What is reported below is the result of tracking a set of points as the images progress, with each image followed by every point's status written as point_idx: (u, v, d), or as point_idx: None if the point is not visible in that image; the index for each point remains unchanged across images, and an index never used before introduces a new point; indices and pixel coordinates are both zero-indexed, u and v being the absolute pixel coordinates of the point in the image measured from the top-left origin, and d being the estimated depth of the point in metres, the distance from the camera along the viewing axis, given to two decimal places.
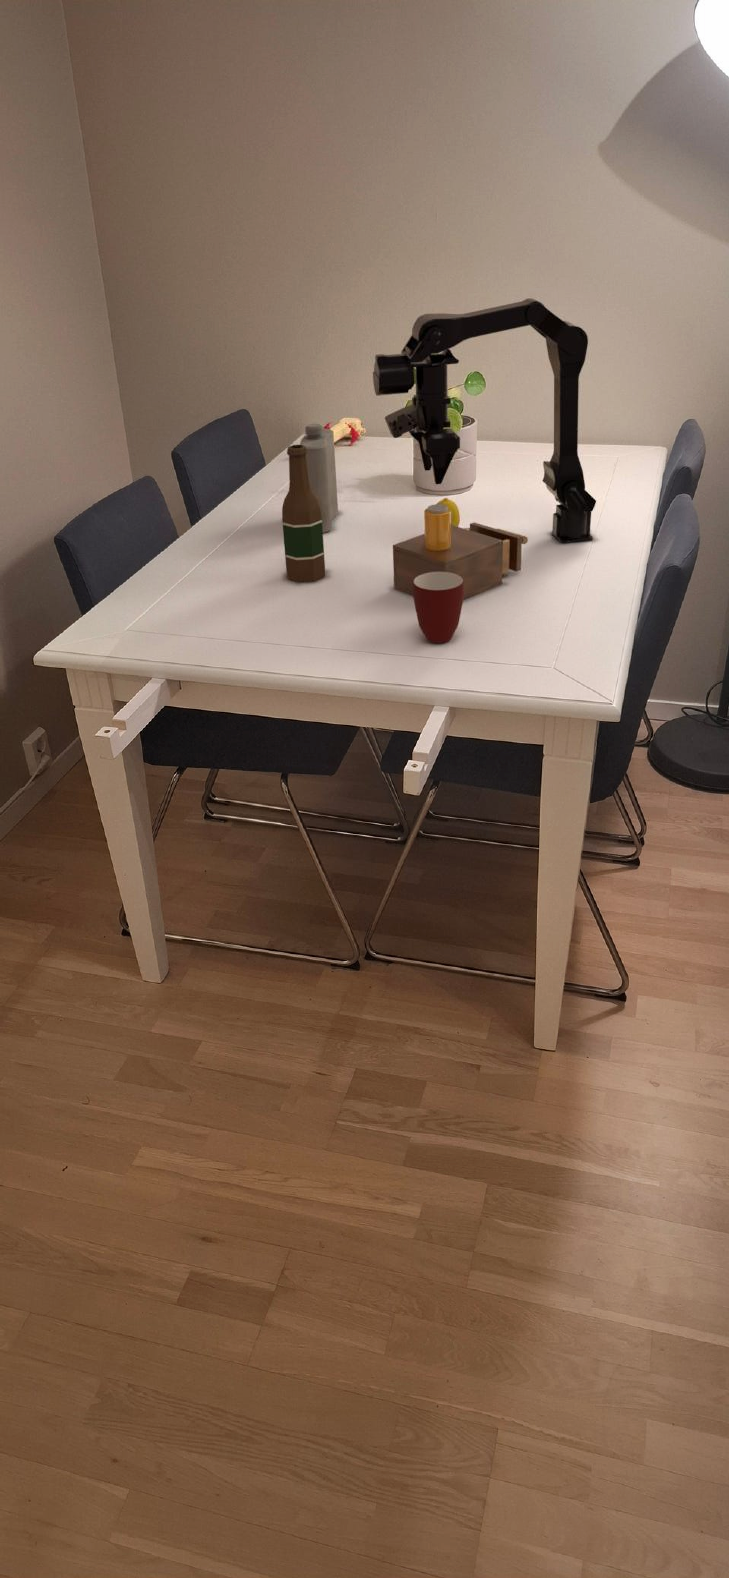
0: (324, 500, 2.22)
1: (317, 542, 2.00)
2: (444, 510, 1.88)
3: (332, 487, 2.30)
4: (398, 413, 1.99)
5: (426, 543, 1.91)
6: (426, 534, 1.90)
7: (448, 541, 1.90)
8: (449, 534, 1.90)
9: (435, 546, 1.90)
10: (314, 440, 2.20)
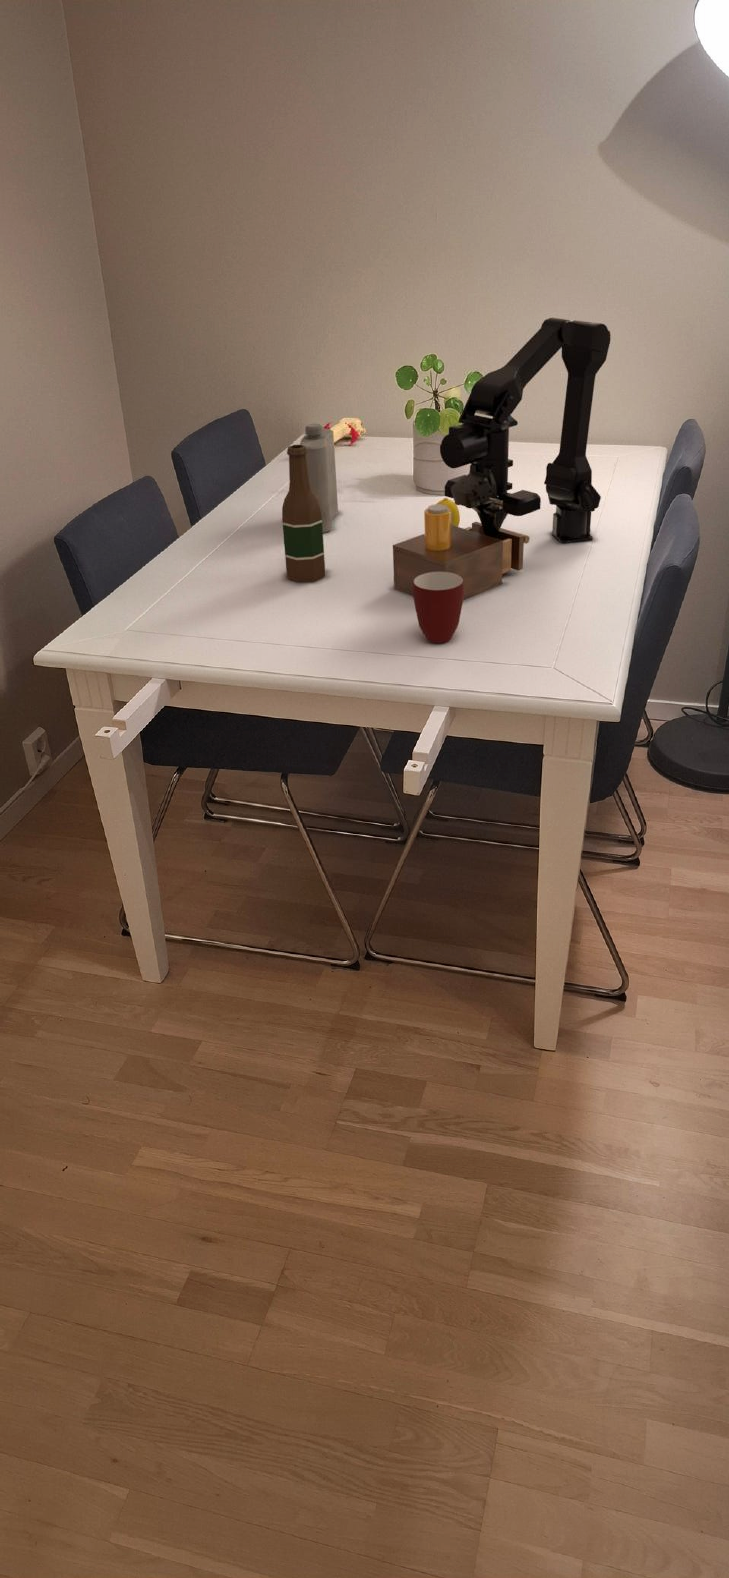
0: (324, 500, 2.22)
1: (317, 542, 2.00)
2: (444, 510, 1.88)
3: (332, 487, 2.30)
4: (466, 483, 1.92)
5: (426, 543, 1.91)
6: (426, 534, 1.90)
7: (448, 541, 1.90)
8: (449, 534, 1.90)
9: (435, 546, 1.90)
10: (314, 440, 2.20)
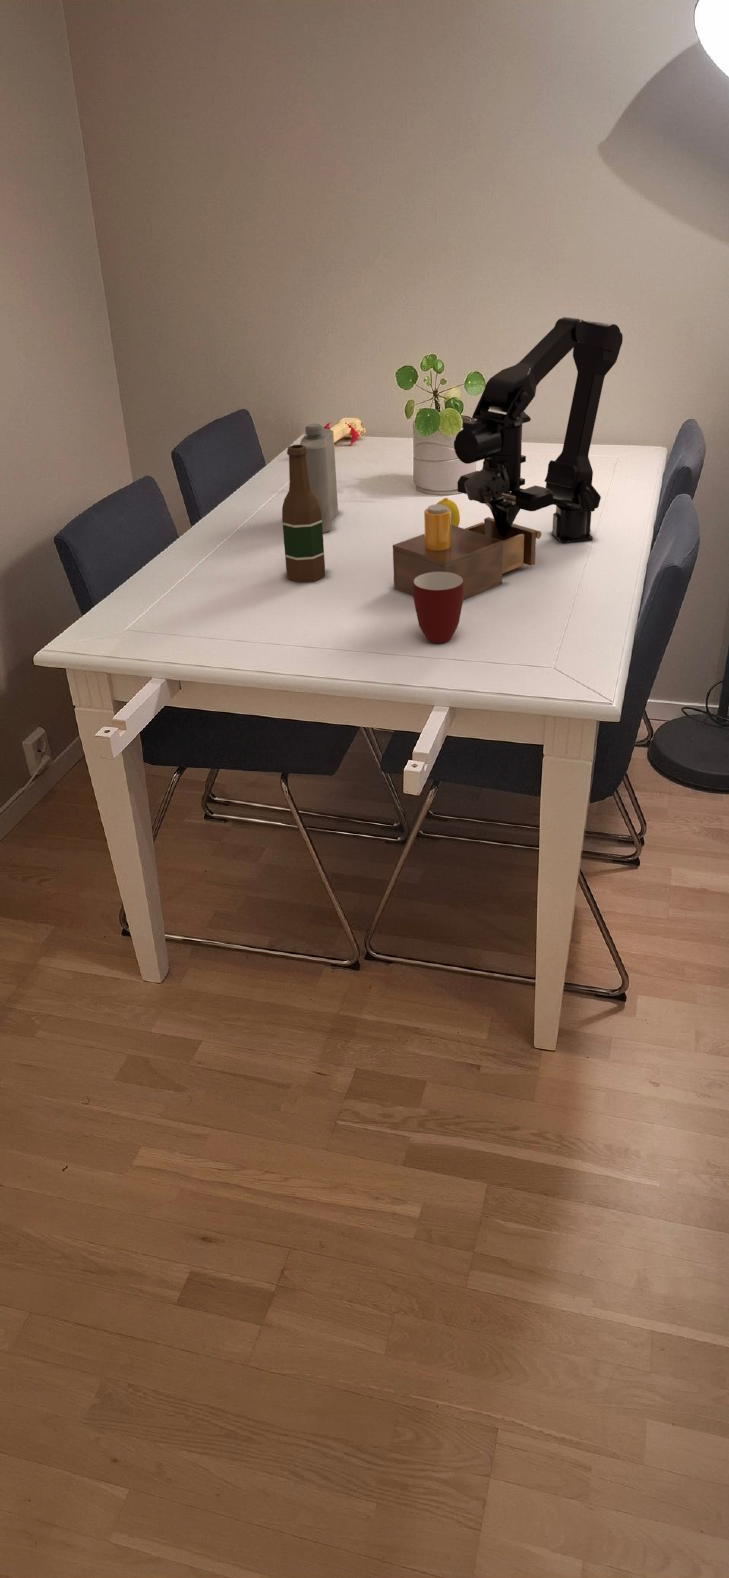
0: (324, 500, 2.22)
1: (317, 542, 2.00)
2: (444, 510, 1.88)
3: (332, 487, 2.30)
4: (479, 478, 1.93)
5: (426, 543, 1.91)
6: (426, 534, 1.90)
7: (448, 541, 1.90)
8: (449, 534, 1.90)
9: (435, 546, 1.90)
10: (314, 440, 2.20)
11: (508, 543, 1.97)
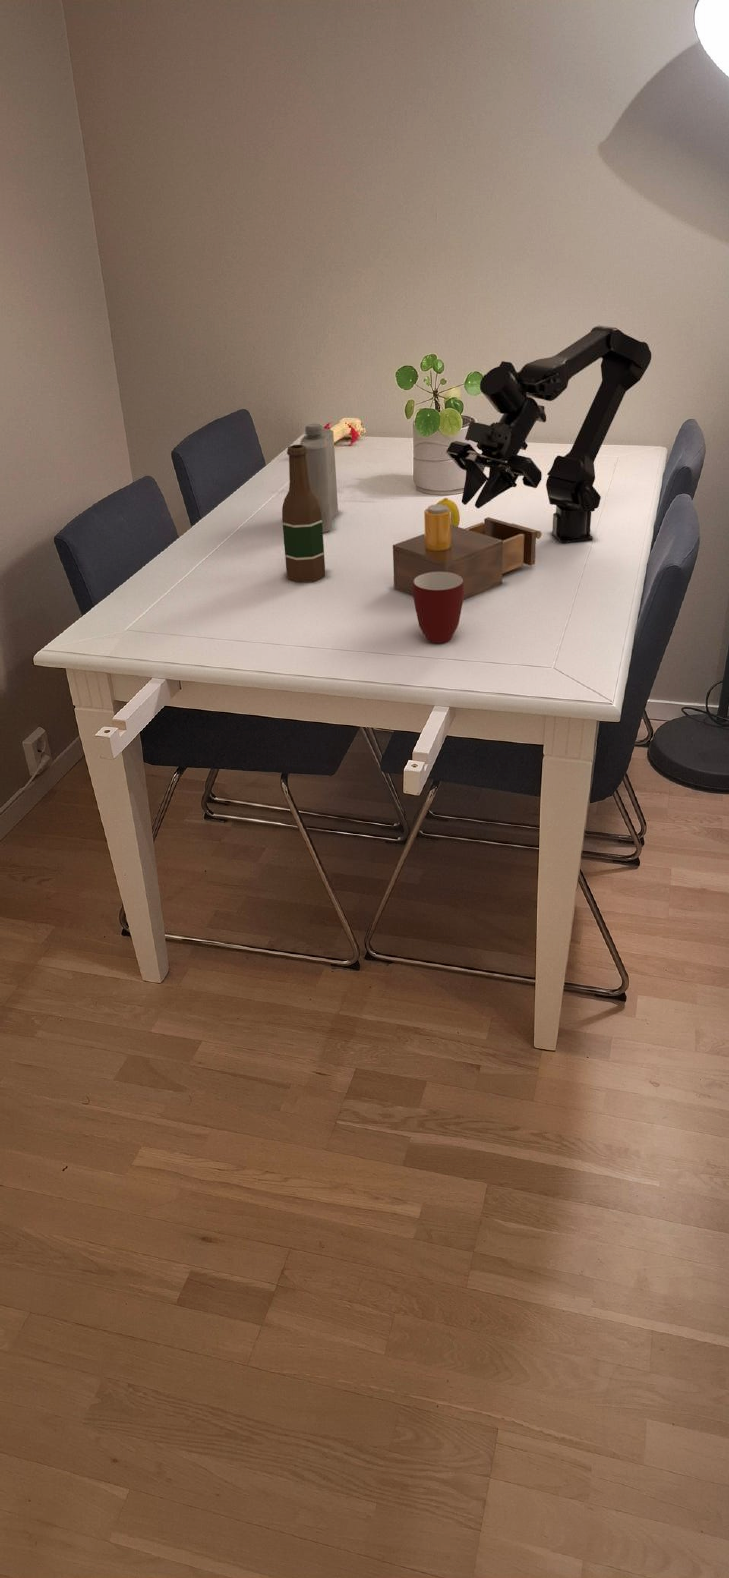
0: (324, 500, 2.22)
1: (317, 542, 2.00)
2: (444, 510, 1.88)
3: (332, 487, 2.30)
4: None
5: (426, 543, 1.91)
6: (426, 534, 1.90)
7: (448, 541, 1.90)
8: (449, 534, 1.90)
9: (435, 546, 1.90)
10: (314, 440, 2.20)
11: (508, 543, 1.97)
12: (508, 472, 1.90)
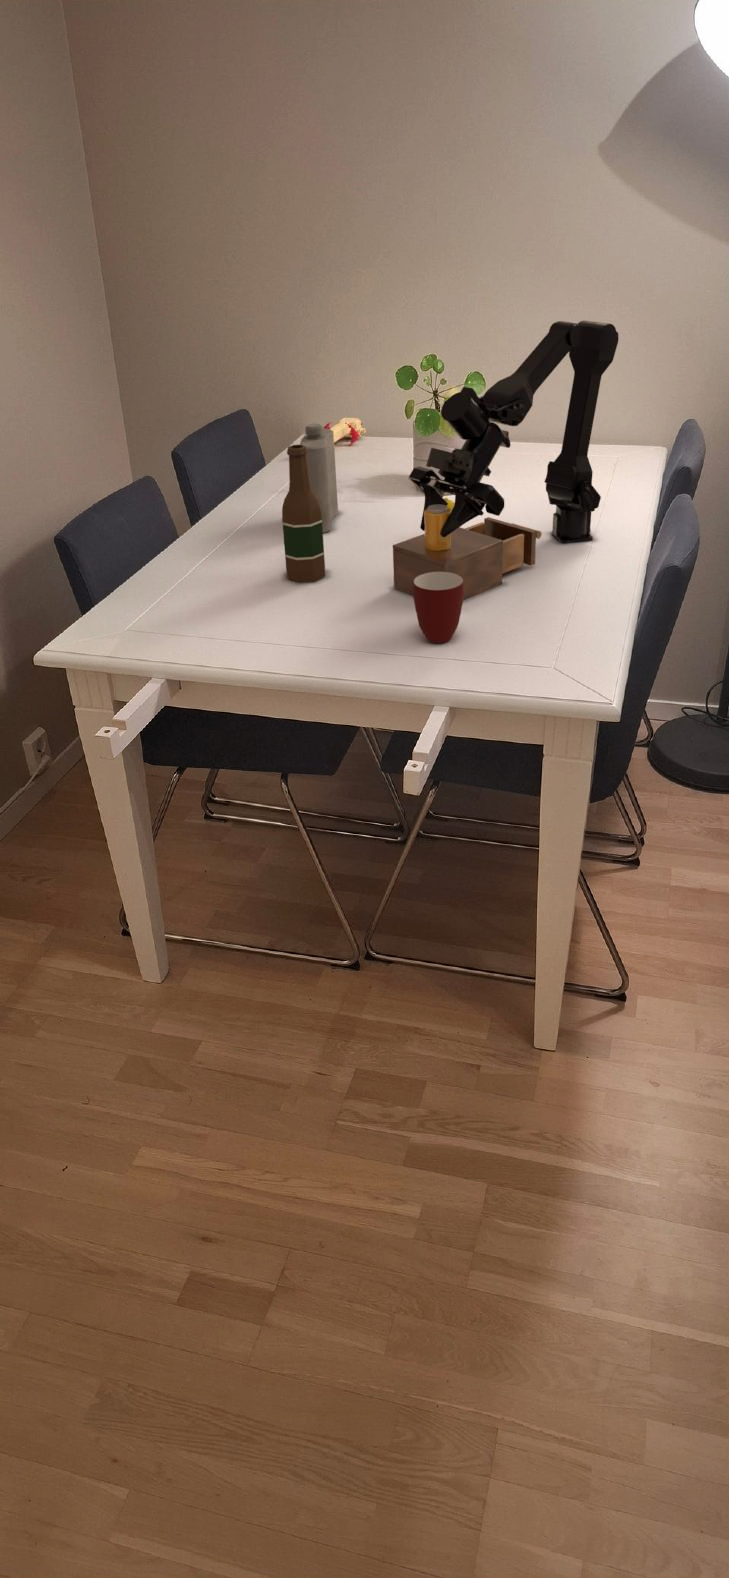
0: (324, 500, 2.22)
1: (317, 542, 2.00)
2: (444, 510, 1.88)
3: (332, 487, 2.30)
4: None
5: (426, 543, 1.91)
6: (426, 534, 1.90)
7: (448, 541, 1.90)
8: (449, 534, 1.90)
9: (435, 546, 1.90)
10: (314, 440, 2.20)
11: (508, 543, 1.97)
12: (474, 500, 1.86)
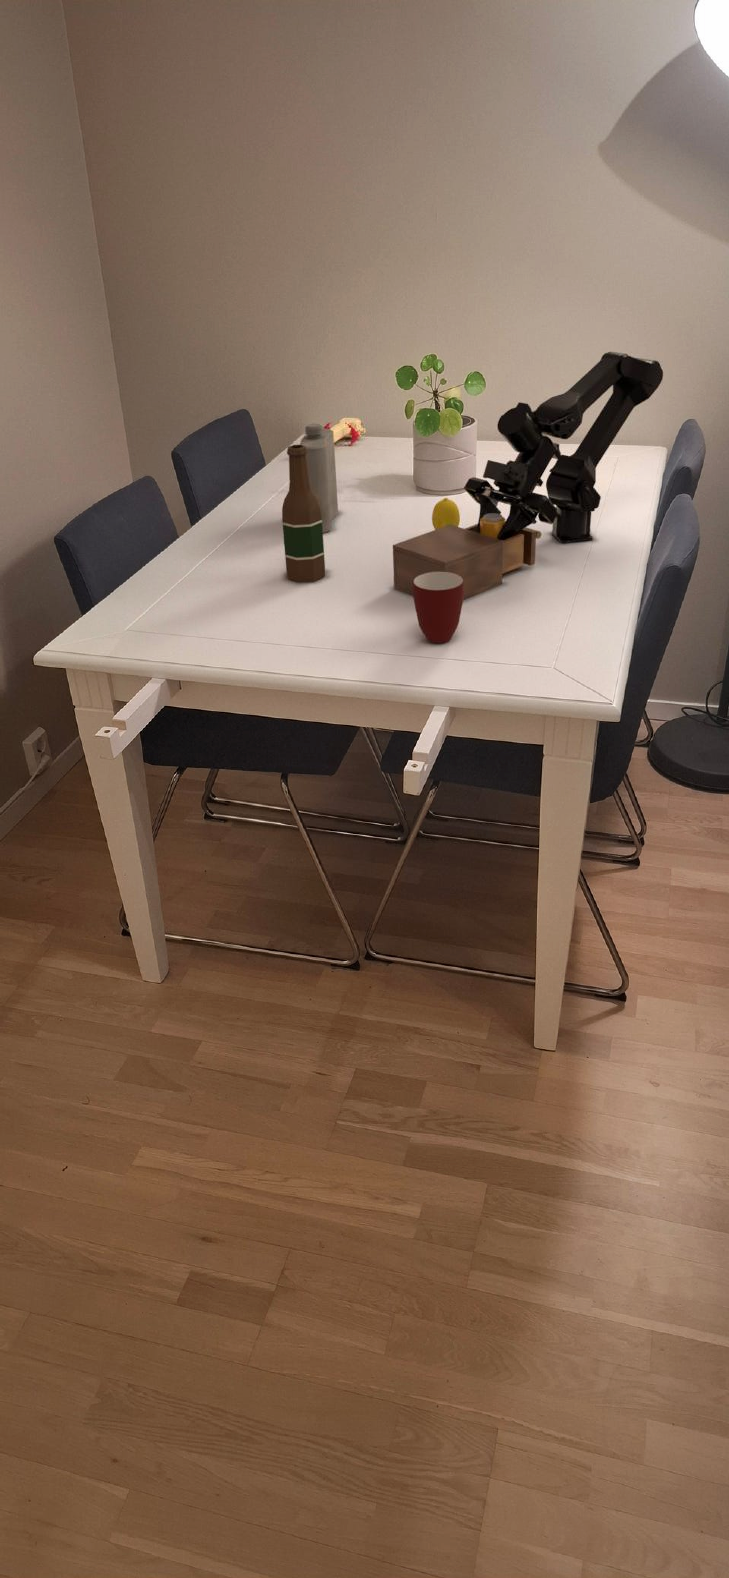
0: (324, 500, 2.22)
1: (317, 542, 2.00)
2: (499, 519, 1.98)
3: (332, 487, 2.30)
4: None
5: None
6: None
7: None
8: None
9: None
10: (314, 440, 2.20)
11: (508, 543, 1.97)
12: (528, 510, 1.96)
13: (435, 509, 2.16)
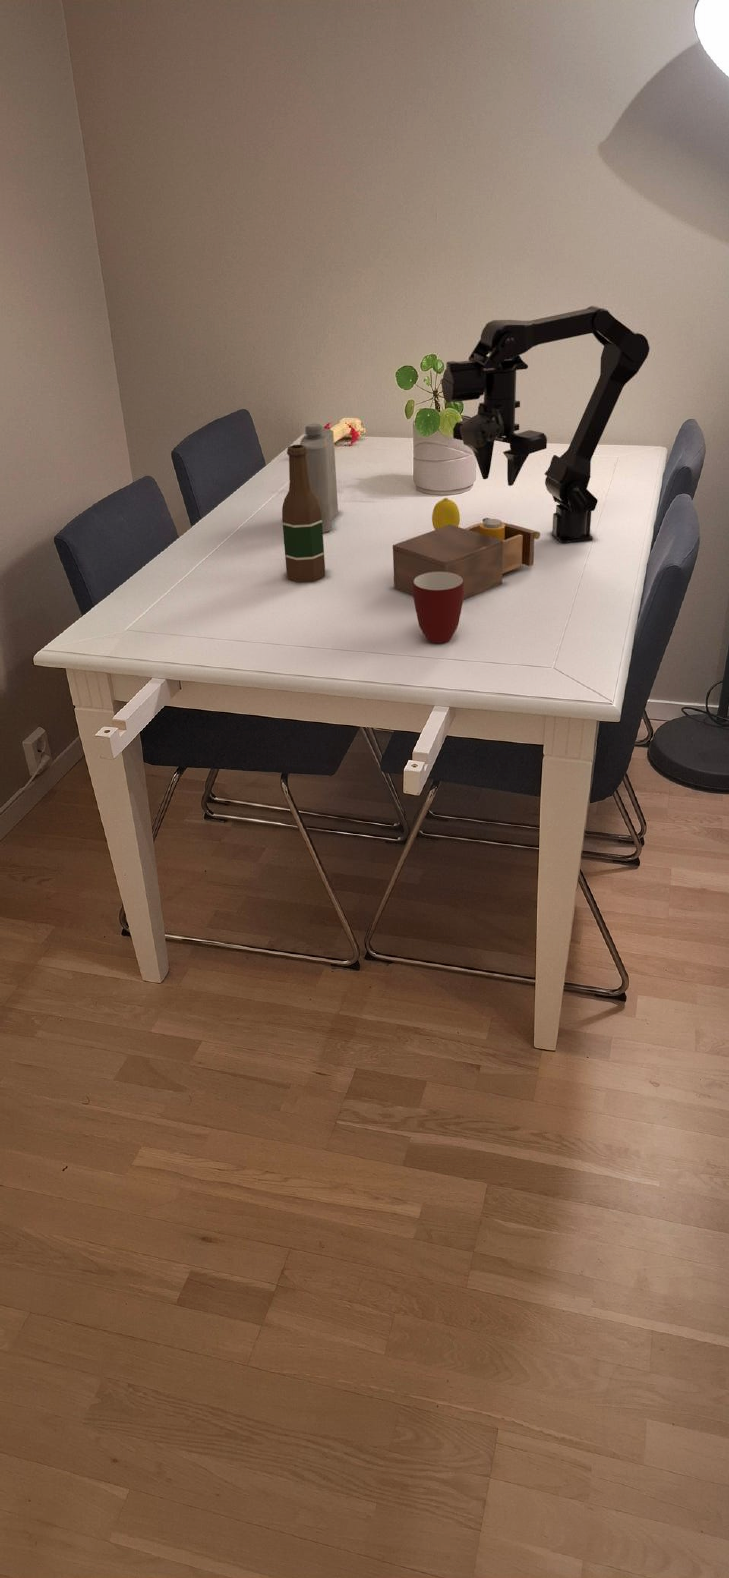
0: (324, 500, 2.22)
1: (317, 542, 2.00)
2: (499, 524, 1.99)
3: (332, 487, 2.30)
4: (474, 422, 1.97)
5: None
6: None
7: None
8: None
9: None
10: (314, 440, 2.20)
11: (506, 544, 1.96)
12: None
13: (435, 509, 2.16)
